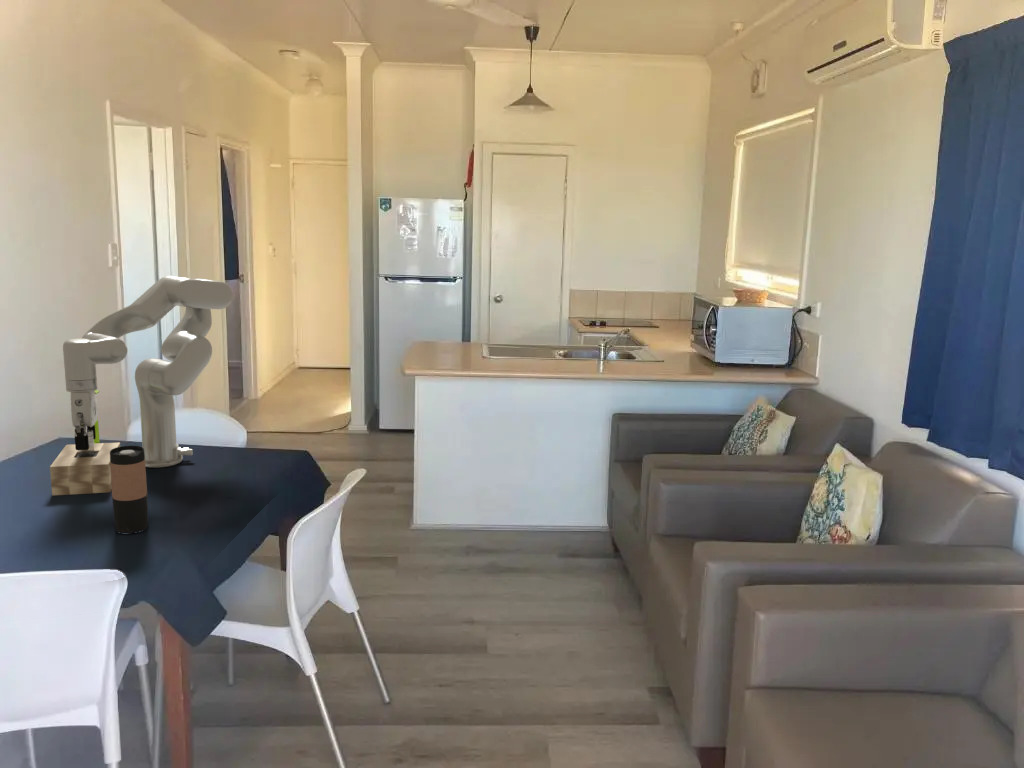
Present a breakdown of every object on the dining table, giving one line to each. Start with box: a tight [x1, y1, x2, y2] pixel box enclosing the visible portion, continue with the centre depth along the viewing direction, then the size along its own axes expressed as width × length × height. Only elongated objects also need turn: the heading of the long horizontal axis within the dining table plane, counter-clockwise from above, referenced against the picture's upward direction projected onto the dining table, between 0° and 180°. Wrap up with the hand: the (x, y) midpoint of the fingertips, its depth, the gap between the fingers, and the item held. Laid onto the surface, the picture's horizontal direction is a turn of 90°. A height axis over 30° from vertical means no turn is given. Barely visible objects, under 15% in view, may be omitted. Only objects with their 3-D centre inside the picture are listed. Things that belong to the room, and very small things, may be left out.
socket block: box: [49, 442, 121, 496], centre depth 226 cm, size 14×20×8 cm
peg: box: [78, 430, 95, 457], centre depth 225 cm, size 4×4×7 cm
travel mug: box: [110, 445, 149, 534], centre depth 195 cm, size 8×8×20 cm
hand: (85, 444), depth 225 cm, fingers open, 9 cm apart
